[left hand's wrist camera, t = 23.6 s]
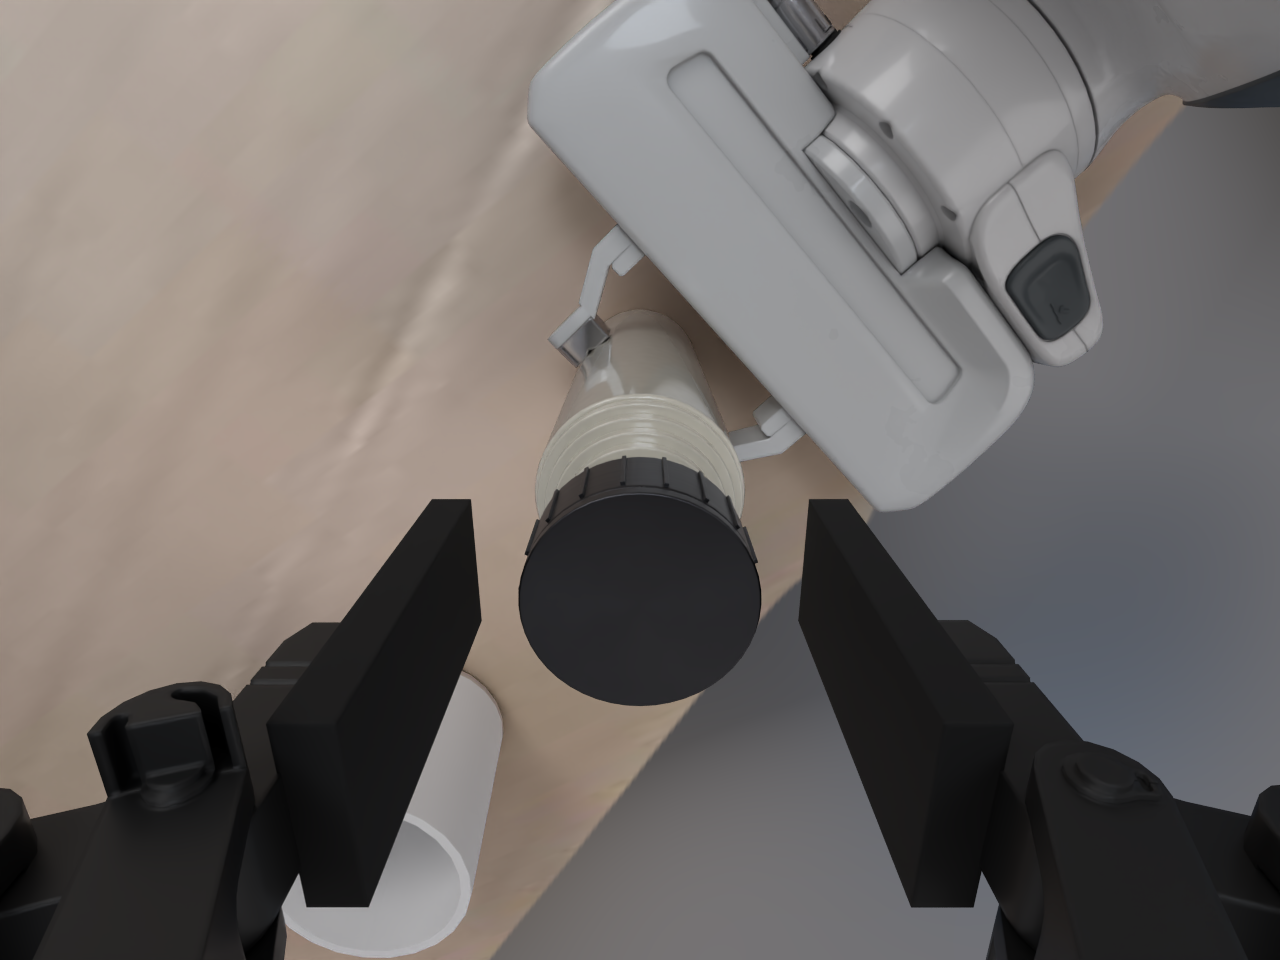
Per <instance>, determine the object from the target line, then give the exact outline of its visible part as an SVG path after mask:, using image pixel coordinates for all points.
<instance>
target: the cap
mask: <svg viewBox="0 0 1280 960" xmlns="http://www.w3.org/2000/svg"><path fill="white" fill-rule="evenodd" d="M525 555H527V559H526V562H525V565H524V569H523V572H522V575H521V579H520V585H519V612H520V619H521V622H522V626H523V629H524V632H525V635H526V637H527V639H528V641H529V643H530V645H531V647H532V649H533V650H534V652H535V653H536V655H537V656H538V658H539V659H540V660H541V661H542V663H543V664H544V665H545V666H546V667H547V668H548V669H549V670H550V671H551V672H552V673H553V674H554V675H555V676H556V677H557V678H559V679H560V680H561V681H563V682H564V683H566V684H567V685H569V686H570V687H572V688H574V689H575V690H577V691H579V692H581V693H583V694H585V695H588V696H590V697H593V698H595V699H598V700H602V701H606V702H609V703H614V704H621V705H630V706H650V705H659V704H665V703H671V702H674V701H678V700H681V699H685V698H687V697H689V696H692V695H694V694H697V693H699V692H701V691H703V690H704V689H706V688H708V687H710V686H711V685H713V684H714V683H716V682H717V681H718V680H720V679H721V678H722V677H723V676H725V675H726V674H727V673H728V672H729V671H730V670H731V669H732V668H733V667H734V666H735V665H736V664H737V662H738V661H739V660H740V659H741V658H742V656H743V655H744V653H745V651H746V650H747V648H748V647H749V645H750V643H751V641H752V638H753V636H754V634H755V632H756V628H757V625H758V622H759V618H760V610H761V587H760V581H759V575H758V572H757V569H756V566H755V563H758V561H757V558H756V555H755V552H754V549H753V546H752V543H751V540H750V538H749V535H748V532H747V529H746V527H742V524H741V521H740V519H739V517H738V515H737V513H736V510H735V508H734V506H733V503H732V500H731V497H730V496H729V495H728V496H725V495H724V494H723V492H722V491H721V490H720V489H719V488H718V487H717V486H716V485H715V484H713V483H712V482H711V481H710V480H709V479H707V478H706V477H704V475H703V472H701V471H699V472H696V471H695V470H693V469H690V468H688V467H686V466H684V465H682V464H678V463H675V462H672V461H669V460H667V458H666V457H662V459H659V458H651V457H629V458H627V456H626V455H625V456H622V458H621V459H616V460H611V461H608V462H604V463H601V464H598V465H596V466H594V467H592V468H589V467H586V468H584V471H583V472H582V473H580V474H579V475H577V476H576V477H574V478H572V479H571V480H570V481H569V482H568V483H566V484H565V485H564V486H563V487H562V488H561V489H560V490H558V489H556V490H555V491H554V494H553V497H552V499H551V501H550V502H549V504H548V505H547V507H546V508H545V510H544V512H543V514H542V516H541V518H540V520H538V519H537V520H536V522H535V525H534V528H533V531H532V534H531V537H530V540H529V543H528V546H527V548H526V551H525Z"/></svg>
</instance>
